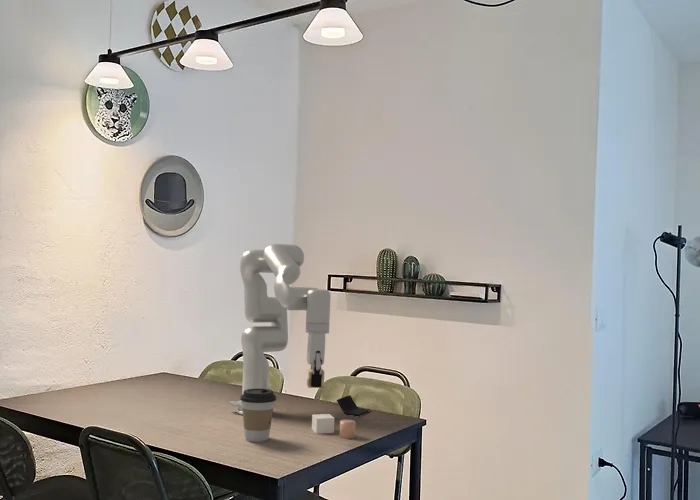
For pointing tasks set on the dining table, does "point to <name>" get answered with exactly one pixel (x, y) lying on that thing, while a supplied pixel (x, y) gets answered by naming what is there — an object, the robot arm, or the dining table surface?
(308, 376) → the maple cube
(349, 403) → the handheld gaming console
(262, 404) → the coffee cup
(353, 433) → the terracotta cylinder
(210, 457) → the dining table surface
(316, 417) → the white block
